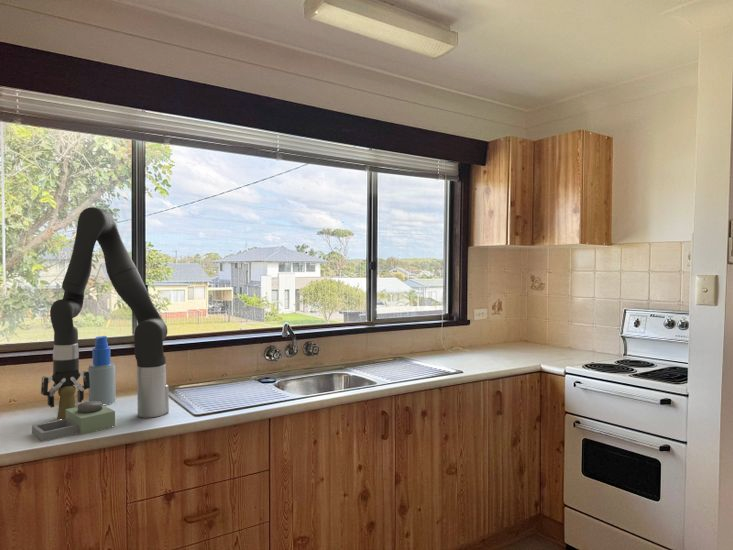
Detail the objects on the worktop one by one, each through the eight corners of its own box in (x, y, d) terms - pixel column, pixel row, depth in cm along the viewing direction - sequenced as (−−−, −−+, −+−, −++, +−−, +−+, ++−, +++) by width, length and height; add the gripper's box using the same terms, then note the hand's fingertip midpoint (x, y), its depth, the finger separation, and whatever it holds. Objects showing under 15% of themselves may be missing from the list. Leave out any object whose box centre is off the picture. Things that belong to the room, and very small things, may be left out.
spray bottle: (104, 398, 194) (103, 334, 194) (120, 400, 191) (120, 335, 190) (83, 404, 186) (82, 337, 186) (99, 407, 183) (98, 339, 182)
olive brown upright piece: (81, 414, 174) (80, 383, 174) (71, 420, 168) (70, 387, 168) (63, 414, 174) (62, 383, 173) (53, 420, 168) (52, 387, 167)
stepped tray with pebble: (98, 417, 171) (98, 397, 170) (115, 426, 161) (114, 404, 161) (30, 432, 156) (29, 410, 156) (44, 443, 146) (43, 419, 146)
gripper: (45, 361, 162) (45, 411, 163) (92, 355, 173) (92, 402, 173) (38, 358, 167) (38, 406, 168) (84, 353, 178) (84, 398, 178)
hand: (66, 404), depth 171 cm, fingers open, 8 cm apart
